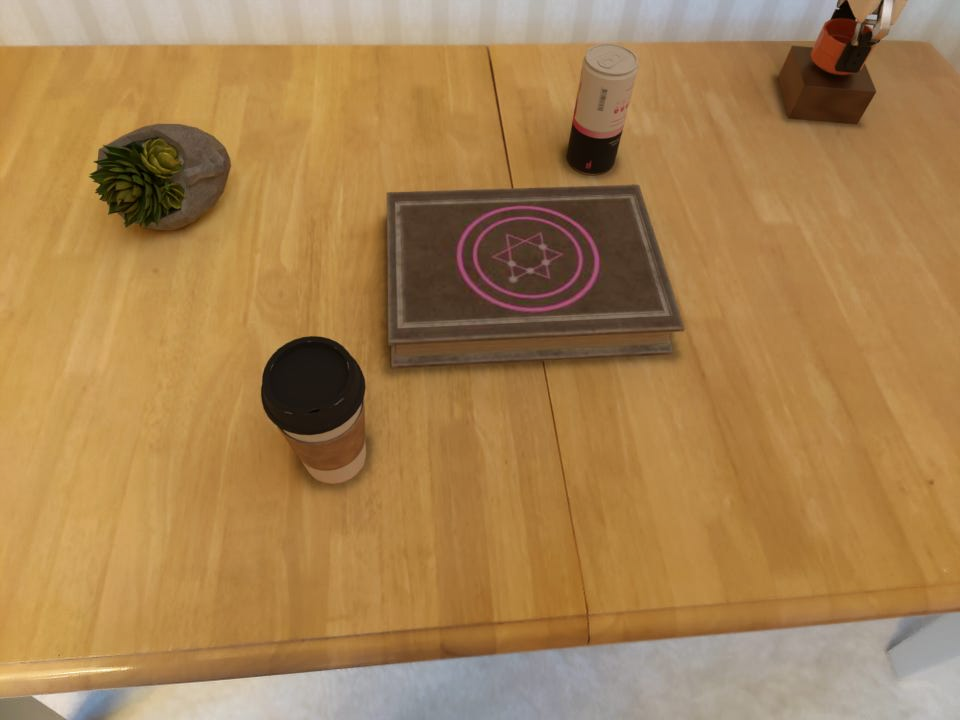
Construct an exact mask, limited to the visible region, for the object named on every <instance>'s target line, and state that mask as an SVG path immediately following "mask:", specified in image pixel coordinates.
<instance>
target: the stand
mask: <svg viewBox="0 0 960 720" xmlns="http://www.w3.org/2000/svg"><path fill="white" fill-rule="evenodd" d="M812 48H813V46H801V45H791V46H790V49H789V52H788V54H787V56H786V58H785V60H784V63H783V66H782V67H781V70H780V71H779V74H778V76H777V82H778V86H779V90H780V94H781V97H782V101H783V104H784V109H785V111H786V115H787V119H789V120H800V121H810V122H822V123H823V122H824V123H835V124H846V125H847V124H848V125H858V124H859V122H860V120H861V119H862V118H863V116H864V114H865V112H866V111H867V109H868V107H869V105H870V104H871V102H872V100H873V99H874V97H875V96H876V93H877V90H876V87H875V85H874V82H873V79H872V76H871V75H870V72H869V69H868V68H867V65H866V63H865V64H864V66H863V68H862V69H861V70H860V71H859V72H857V73H854V74H848V75H836V74H832V73H828V72H826V71H824V70H822V69H820V68H819V67H818V66H817V65H816V64H815V63H814V62H813V61H812V59H811V56H810V53H811V51H812Z"/></svg>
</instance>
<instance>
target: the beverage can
mask: <svg viewBox="0 0 960 720" xmlns="http://www.w3.org/2000/svg"><path fill="white" fill-rule="evenodd" d="M638 72H639V57H638V55H637V53H636V52H634V51H633V50H632V49H630V48H629V47H627V46H626V45H625V46H624V45H622V44H619V43H613V42H603V43H597V44H594V45H593V46H590V47H589V48H588V49H587V50H586V52H585V55H584V57H583V59H582V64H581V69H580V75H579V82H578V87H577V93H576V97H575V105H574V110H573V115H572V121H571V126H570V133H569V138H568V144H567V150H566V161H567V163H568V164H569V166H570V167H572V168H573V169H574V170H575V171H577V172H579V173H582V174H585V175H593V176H595V175H602V174H604V173H607V172H608V171H610V170H611V169H612V168H614V165H615V162H616V159H617V154H618V151H619V146H620V142H621V138H622V134H623V130H624V127H625V123H626V119H627V115H628V111H629V107H630V103H631V98H632V96H633V91H634V88H635V87H634V86H635V82H636V79H637V76H638Z"/></svg>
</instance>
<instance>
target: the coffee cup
mask: <svg viewBox="0 0 960 720" xmlns="http://www.w3.org/2000/svg"><path fill="white" fill-rule="evenodd" d="M260 386H261V387H260V398H261V404H262V408H263V410H264V412H265V415H266V417H267V418H268V419H269V420H270V421H271V423H273V425H275V426H276V428H277V429H278V430H279V432H280V433H281V435H282V436H283V438H284V439H285V440H286V442H287V443H288V444H289V446H290V447H291V449H292V450H293V452H294V453H295V454H296V456H297V457H298V459H299V460H300V461H301V463H302V464H303V466H304V468H305V469H306V471H307V472H308V473H309V474H310V475H311V477H312V478H314V479H315V480H316V481H319V482H321V483H324V484H333V485H334V484H341V483H345V482H347V481H349V480H350V479H352V478H354V477H355V476H357V474H359V472H360V471H361V469H362V468H363V466H364V464H365V461H366V459H367V458H366V457H367V447H366V446H367V445H366V411H365V394H366V379H365V375H364V373H363V370H362V368H361V366H360V364H359V363H358V361H357V360H356V359H355V358H354V357H353V355H352V354H351V353H350V352H349V350H347V348H346V347H344V345H342V344H341V343H340V342H338V341H336V340H334V339H332V338H329V337H325V336H319V335H308V336H302V337H299V338H295V339H293V340H291V341H288V342H286V343H284V344H283V345H282V346H280V347H279V348H278V349H276V350H275V352H273V353H272V355H271V356H270V357H269V359H268V360H267V361H266V364H265V366H264V369H263V373H262V377H261V385H260Z"/></svg>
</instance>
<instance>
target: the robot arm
mask: <svg viewBox="0 0 960 720" xmlns="http://www.w3.org/2000/svg"><path fill="white" fill-rule="evenodd" d="M908 1H909V0H837V2H836V6H835V7H836V8H835V9H834V11H833V12H832V15H831V17H830V19H836V18H846V19H852V20H856V21H858V22H857V25H856V28H855V32H854V35H853V38H852V42H851V41H848V42H847V44H846V46H845V48H844V50H843V52H842V54H841V56H840V58H839V60H838V62H837V64H836V66H835V70H836V71H839V72H850V73H857V72H859V70H860V69H861V67H862V65H863V63H864V61H865V60H866V58H867V56H868V54H869V52H870V51H871V49H872V48H873V49H874V48H875V47H876V46H877V44H878V43H880V42H881V40H882V39H884V38H885V37H887V36H888V35H889V34H890V30H891V26H893V25H895V24H896V23H897V21H898V19H899V18H900V16H901V14H902V13H903V10H904V9H905V7H906V5H907V3H908ZM871 15H872V16H873V15H874V16H876V19H872V18H868V16H871ZM864 25H868V26H873V27H872V31H871V32H870V31H868V32H866V33H864V34H862V32H863V29H864ZM871 52H872V51H871ZM866 61H867V60H866Z"/></svg>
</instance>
